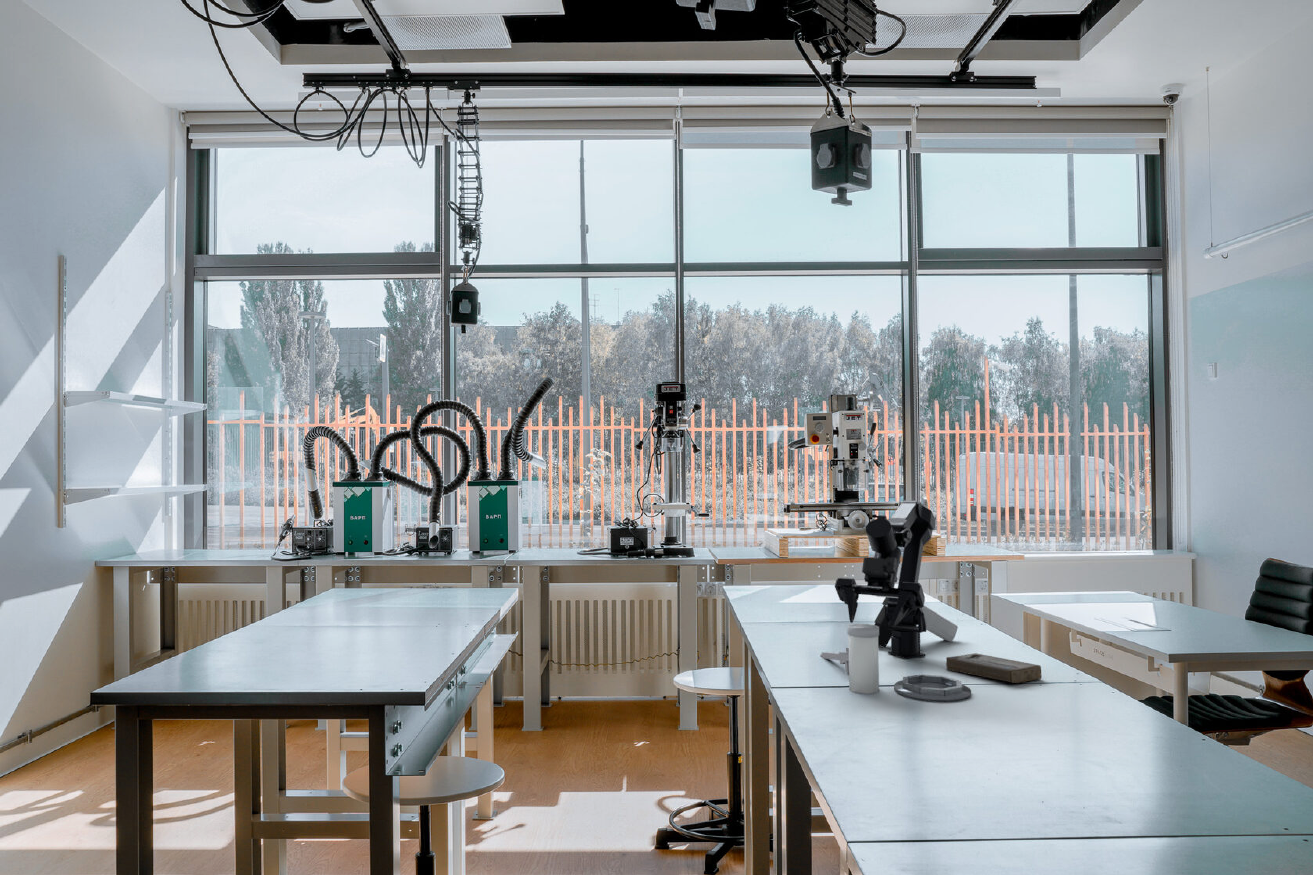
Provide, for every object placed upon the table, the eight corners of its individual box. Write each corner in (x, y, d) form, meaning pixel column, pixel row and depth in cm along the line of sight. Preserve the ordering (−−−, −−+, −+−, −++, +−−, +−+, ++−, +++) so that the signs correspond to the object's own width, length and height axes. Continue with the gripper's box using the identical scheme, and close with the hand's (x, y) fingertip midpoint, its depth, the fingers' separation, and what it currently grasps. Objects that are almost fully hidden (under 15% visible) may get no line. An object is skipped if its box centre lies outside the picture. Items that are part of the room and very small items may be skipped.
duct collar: (931, 679, 180) (931, 669, 180) (987, 695, 167) (987, 685, 167) (878, 688, 173) (878, 678, 173) (932, 706, 160) (932, 695, 160)
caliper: (855, 677, 183) (854, 649, 183) (850, 678, 183) (850, 649, 183) (824, 656, 203) (823, 631, 203) (819, 657, 203) (819, 631, 203)
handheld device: (864, 637, 214) (889, 585, 217) (929, 674, 219) (952, 623, 222) (873, 641, 210) (897, 587, 213) (938, 678, 215) (961, 625, 218)
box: (1011, 685, 174) (1011, 670, 174) (945, 670, 188) (944, 656, 189) (1043, 680, 179) (1043, 665, 179) (976, 665, 194) (976, 652, 194)
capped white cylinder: (865, 684, 176) (864, 622, 177) (886, 691, 171) (885, 627, 171) (841, 688, 174) (841, 625, 174) (862, 695, 168) (861, 630, 168)
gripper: (836, 541, 188) (820, 597, 178) (920, 545, 179) (908, 604, 169) (848, 573, 195) (833, 628, 185) (929, 578, 185) (918, 636, 175)
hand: (871, 623), depth 178 cm, fingers open, 9 cm apart
